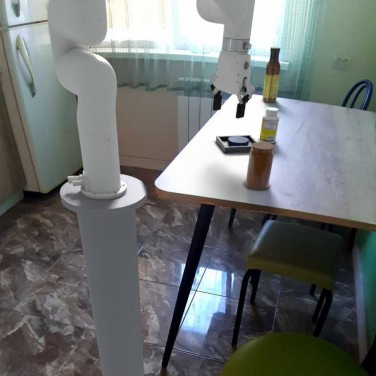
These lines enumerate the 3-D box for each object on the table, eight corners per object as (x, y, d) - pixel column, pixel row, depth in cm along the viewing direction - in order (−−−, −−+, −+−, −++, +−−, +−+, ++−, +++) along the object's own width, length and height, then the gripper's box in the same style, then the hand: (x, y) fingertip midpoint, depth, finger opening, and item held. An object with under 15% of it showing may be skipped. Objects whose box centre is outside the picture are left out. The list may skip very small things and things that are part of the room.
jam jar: (249, 190, 112) (255, 150, 105) (242, 181, 116) (247, 141, 109) (271, 189, 113) (279, 149, 106) (263, 179, 118) (270, 140, 110)
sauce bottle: (276, 100, 185) (285, 46, 171) (275, 103, 180) (284, 49, 167) (262, 98, 186) (269, 45, 172) (260, 102, 181) (268, 47, 168)
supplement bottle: (264, 137, 145) (269, 105, 138) (278, 141, 143) (283, 108, 136) (256, 141, 142) (260, 108, 135) (270, 145, 140) (275, 112, 133)
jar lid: (237, 140, 141) (238, 134, 139) (252, 145, 137) (253, 140, 136) (223, 144, 137) (223, 138, 136) (238, 150, 134) (238, 144, 132)
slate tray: (224, 153, 132) (225, 147, 131) (215, 141, 140) (216, 136, 139) (260, 151, 135) (261, 146, 133) (249, 140, 142) (250, 134, 141)
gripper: (268, 50, 111) (257, 119, 123) (222, 40, 120) (216, 106, 132) (250, 51, 107) (240, 122, 119) (204, 41, 116) (199, 108, 128)
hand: (227, 113), depth 125 cm, fingers open, 9 cm apart
